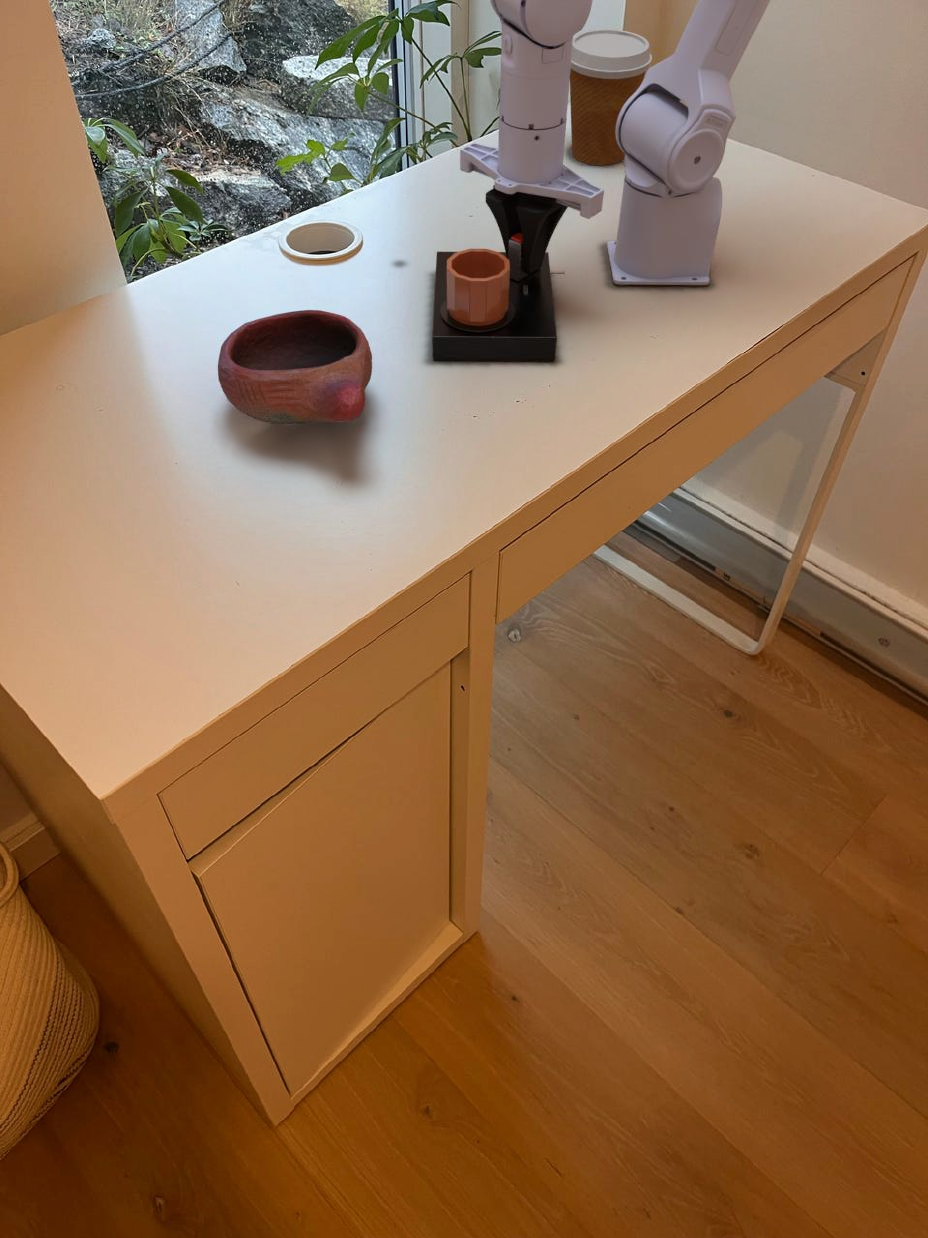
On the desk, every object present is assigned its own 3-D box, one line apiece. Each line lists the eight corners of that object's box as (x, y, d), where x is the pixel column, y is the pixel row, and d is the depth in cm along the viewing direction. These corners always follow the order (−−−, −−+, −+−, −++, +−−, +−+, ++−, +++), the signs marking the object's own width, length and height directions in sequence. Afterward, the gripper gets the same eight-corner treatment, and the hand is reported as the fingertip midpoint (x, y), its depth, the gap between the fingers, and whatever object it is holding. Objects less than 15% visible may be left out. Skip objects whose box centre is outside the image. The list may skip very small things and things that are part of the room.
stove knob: (530, 262, 94) (532, 222, 91) (541, 267, 94) (544, 226, 91) (507, 277, 92) (508, 236, 89) (518, 282, 92) (520, 241, 89)
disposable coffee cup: (554, 168, 113) (562, 55, 104) (562, 134, 120) (571, 24, 111) (636, 174, 112) (652, 61, 103) (640, 139, 119) (655, 30, 110)
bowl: (194, 426, 81) (173, 343, 75) (285, 350, 89) (272, 268, 83) (356, 489, 76) (347, 405, 70) (437, 402, 84) (436, 319, 78)
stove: (560, 275, 98) (562, 250, 96) (570, 361, 88) (572, 336, 86) (437, 274, 98) (436, 249, 96) (432, 360, 88) (432, 334, 86)
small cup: (507, 294, 90) (509, 248, 87) (508, 327, 86) (510, 280, 83) (447, 293, 90) (447, 247, 87) (446, 326, 86) (446, 280, 83)
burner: (513, 292, 91) (514, 290, 91) (515, 333, 86) (515, 331, 86) (441, 292, 91) (441, 290, 91) (439, 332, 86) (439, 330, 86)
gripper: (437, 107, 83) (439, 256, 94) (575, 156, 77) (561, 309, 87) (489, 83, 87) (485, 229, 97) (624, 127, 81) (606, 278, 91)
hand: (524, 265), depth 93 cm, fingers closed on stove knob
